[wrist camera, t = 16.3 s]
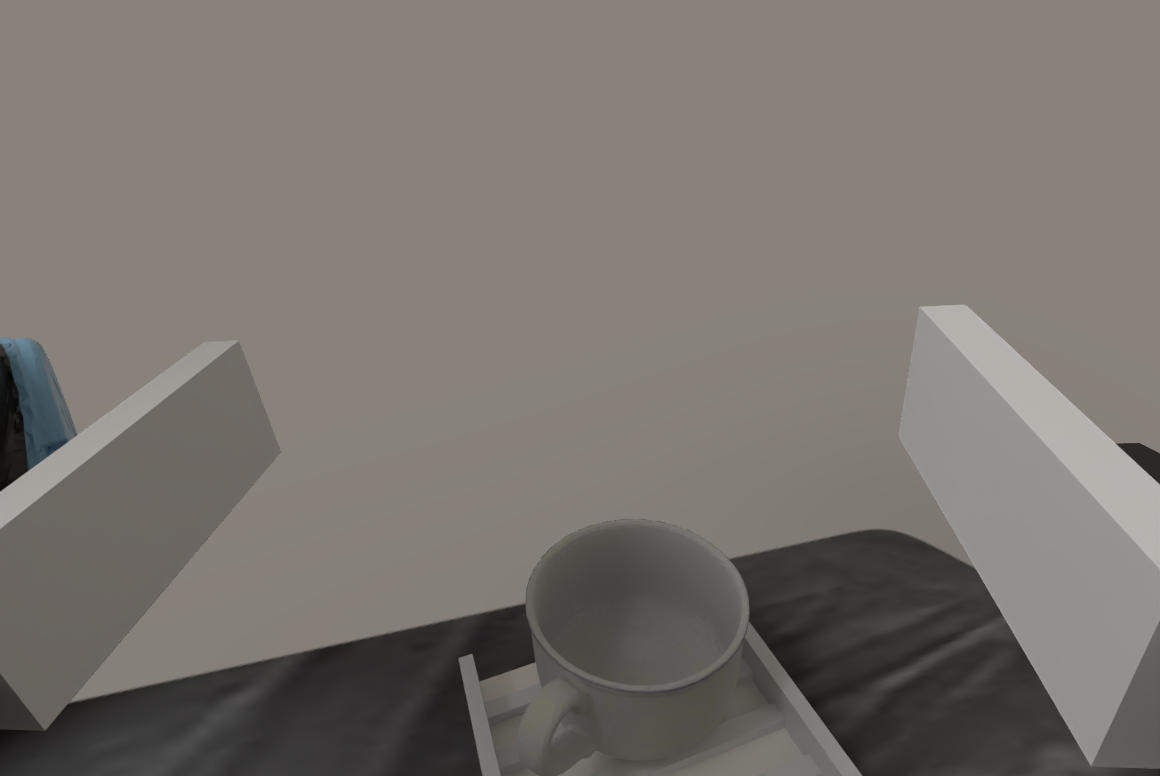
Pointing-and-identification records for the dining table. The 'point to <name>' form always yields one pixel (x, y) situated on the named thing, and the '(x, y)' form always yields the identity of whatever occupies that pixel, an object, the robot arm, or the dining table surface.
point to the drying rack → (704, 772)
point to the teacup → (630, 644)
